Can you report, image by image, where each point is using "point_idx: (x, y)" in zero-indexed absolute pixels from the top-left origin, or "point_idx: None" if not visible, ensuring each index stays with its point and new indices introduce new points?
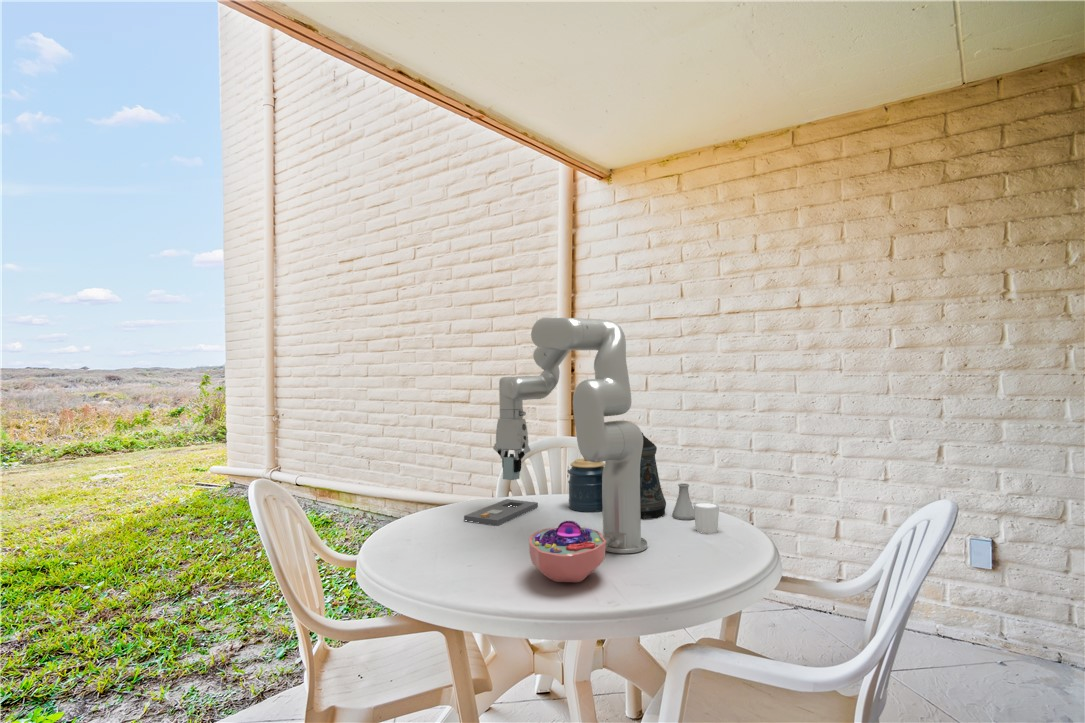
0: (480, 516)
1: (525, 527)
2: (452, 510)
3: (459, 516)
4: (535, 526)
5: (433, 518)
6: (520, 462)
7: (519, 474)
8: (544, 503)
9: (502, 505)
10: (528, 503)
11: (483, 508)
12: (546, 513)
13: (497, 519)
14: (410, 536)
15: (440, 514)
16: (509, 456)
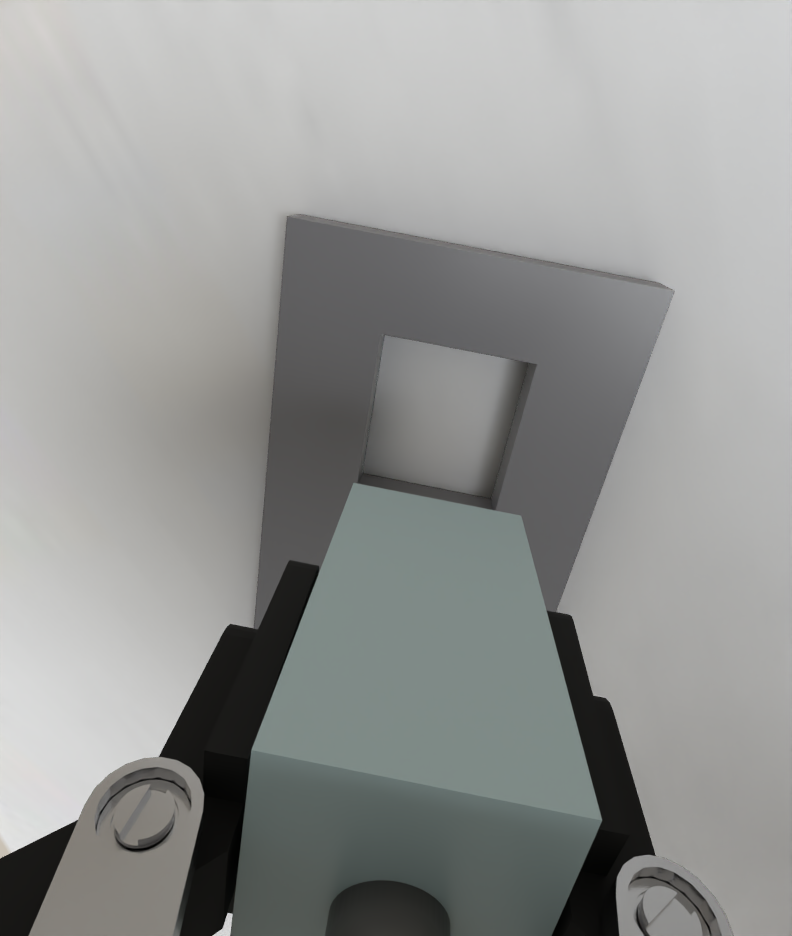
0: None
1: (660, 769)
2: (17, 526)
3: (165, 642)
4: (720, 749)
5: (56, 696)
6: (629, 830)
7: (528, 548)
8: (707, 64)
9: (359, 468)
10: (579, 352)
11: (262, 584)
12: (769, 465)
13: None
14: None
15: (25, 623)
16: (252, 814)
